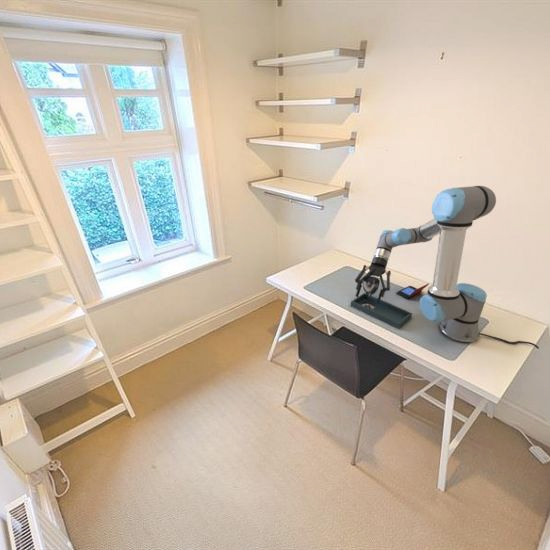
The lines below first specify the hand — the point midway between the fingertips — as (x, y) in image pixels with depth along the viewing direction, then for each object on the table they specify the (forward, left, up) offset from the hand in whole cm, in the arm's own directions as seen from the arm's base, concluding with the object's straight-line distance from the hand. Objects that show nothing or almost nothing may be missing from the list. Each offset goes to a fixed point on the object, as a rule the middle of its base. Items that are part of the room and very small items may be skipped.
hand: (367, 299), depth 156 cm
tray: (-6, -3, -6) cm, 9 cm away
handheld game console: (-9, -30, -6) cm, 32 cm away
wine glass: (+1, -3, -6) cm, 6 cm away
